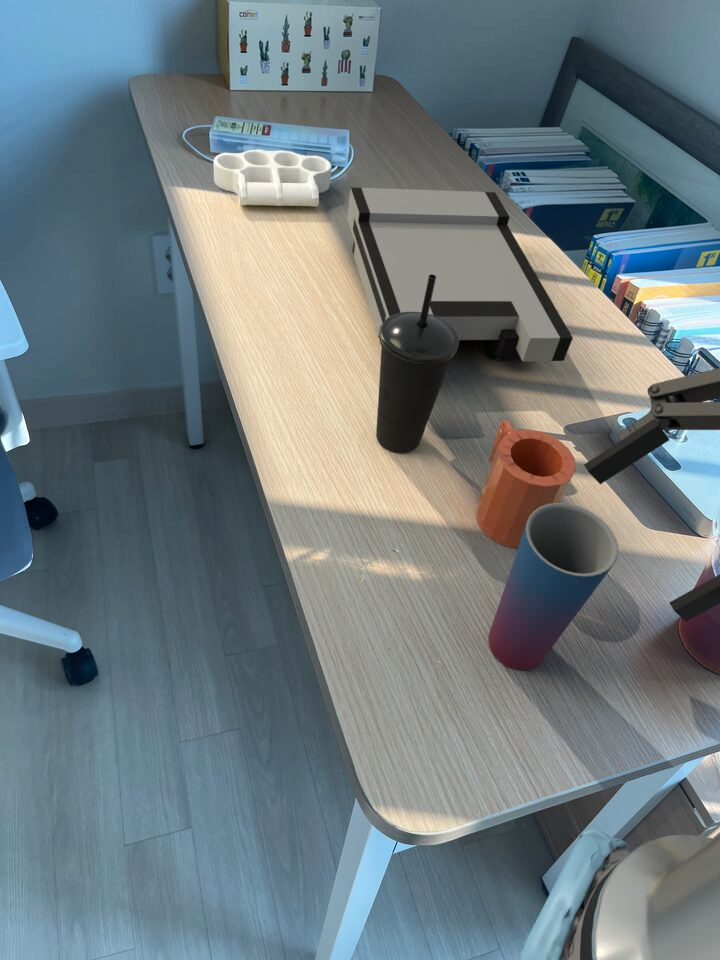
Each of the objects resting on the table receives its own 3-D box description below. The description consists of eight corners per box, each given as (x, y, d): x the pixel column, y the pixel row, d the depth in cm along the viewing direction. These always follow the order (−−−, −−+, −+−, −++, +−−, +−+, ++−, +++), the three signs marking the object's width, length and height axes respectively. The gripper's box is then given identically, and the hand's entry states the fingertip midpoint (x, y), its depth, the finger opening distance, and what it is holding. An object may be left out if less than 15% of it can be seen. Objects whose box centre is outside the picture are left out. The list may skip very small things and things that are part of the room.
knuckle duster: (217, 211, 110) (211, 164, 120) (339, 213, 114) (323, 168, 123) (217, 189, 108) (211, 143, 117) (341, 191, 111) (325, 147, 121)
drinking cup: (400, 404, 86) (433, 245, 71) (447, 444, 82) (492, 285, 68) (348, 430, 82) (372, 267, 67) (395, 473, 78) (431, 310, 64)
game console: (387, 388, 87) (398, 330, 81) (344, 242, 108) (350, 187, 102) (554, 384, 91) (576, 329, 86) (481, 244, 112) (495, 192, 107)
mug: (558, 542, 74) (589, 481, 68) (491, 552, 72) (516, 490, 66) (517, 467, 81) (541, 404, 74) (455, 475, 79) (474, 411, 72)
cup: (565, 636, 67) (629, 530, 56) (538, 695, 63) (601, 592, 52) (496, 598, 69) (545, 488, 58) (465, 653, 65) (511, 546, 54)
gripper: (783, 241, 57) (544, 407, 64) (1066, 485, 41) (706, 671, 48) (802, 298, 62) (579, 446, 69) (1059, 534, 46) (735, 695, 53)
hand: (631, 538), depth 58 cm, fingers open, 13 cm apart
